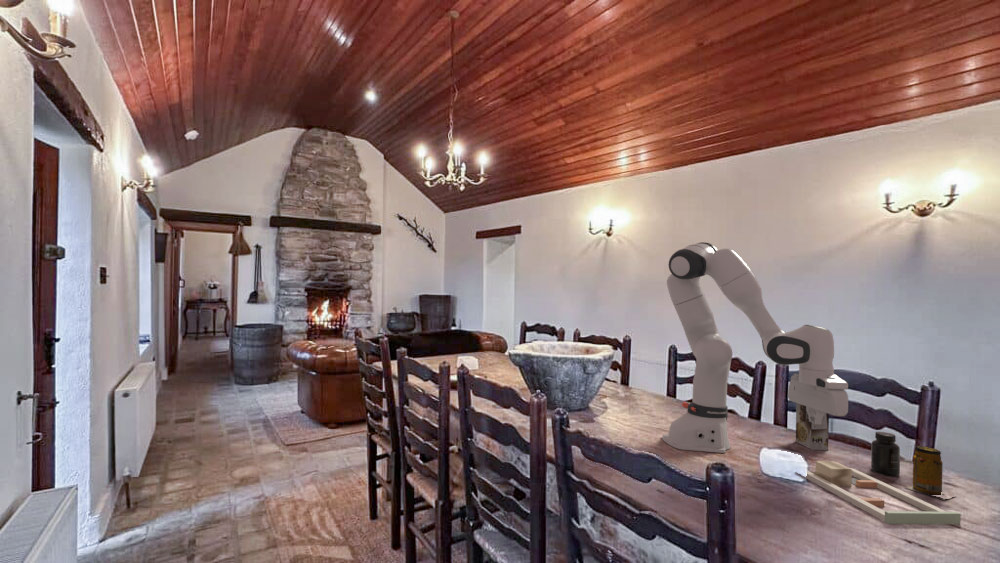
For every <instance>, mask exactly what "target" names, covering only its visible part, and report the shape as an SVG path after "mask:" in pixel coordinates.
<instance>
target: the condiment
mask: <svg viewBox="0 0 1000 563" xmlns="http://www.w3.org/2000/svg"><path fill="white" fill-rule="evenodd" d="M941 455H942V451H940V450H939V449H937V448H933V447H930V446H926V445H925V446H923V445H917V446H915V452H914V455H913V457H912V459H913V460H912V462H913V465H912V485H911V486H906V487H905V489H907V490H911V491H914V492H916V493H919V494H924V495H927V496H930V497H933V498H936V499H940V500H944V501H946V500H945V499H943V498H939V497H936V496H931V495H941V492H943V463H944V462H943V460H942V456H941ZM928 494H929V495H928Z"/></svg>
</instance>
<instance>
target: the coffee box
mask: <svg viewBox="0 0 1000 563" xmlns="http://www.w3.org/2000/svg"><path fill="white" fill-rule="evenodd" d="M795 406H796V407H795V408H796V410H795V442H796V443H797V444H800V445H802V446H804V447H805V448H808V449H810V450H815V451H816V450H817V451H829V437H830V435H829V434H830V433H829V428H830V424H829V423H830V414H828V413H825V415H824V416H823V418H822V423H821V424H820V425H818V424H815V423H812V422H810V421H809V415H808V413H807V411H806V406H804V405H801V404H798V403H796V405H795ZM815 415H816V413H815Z"/></svg>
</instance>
